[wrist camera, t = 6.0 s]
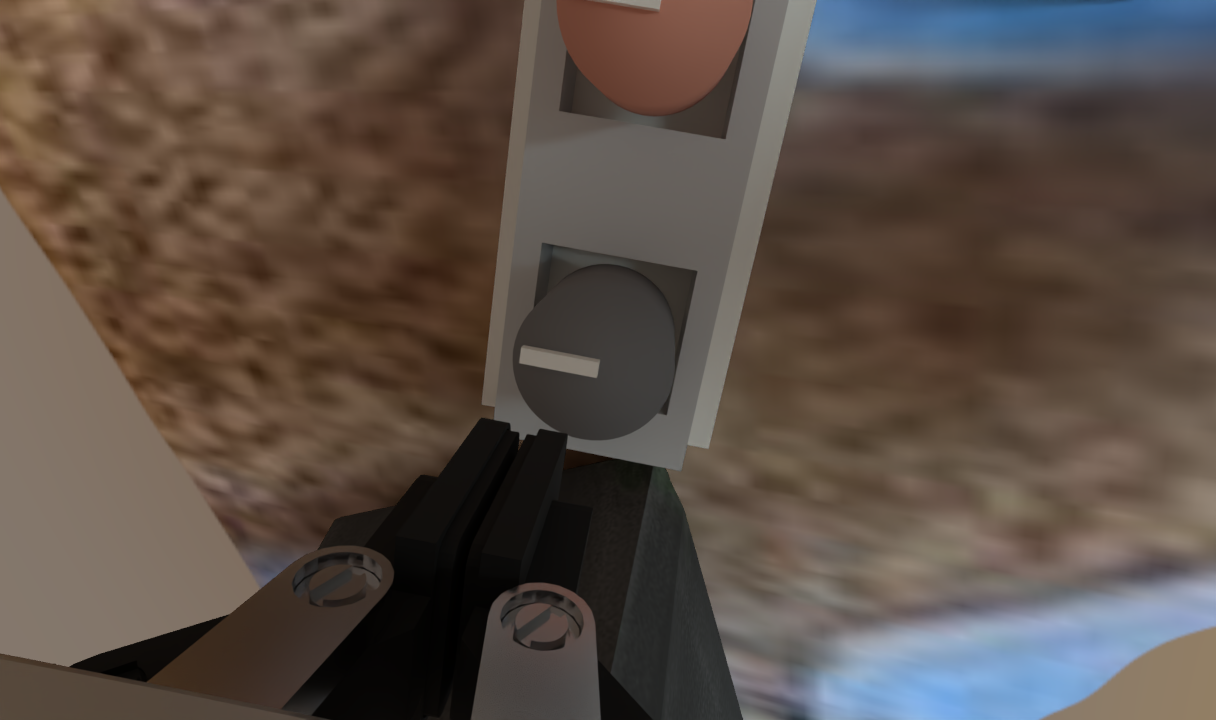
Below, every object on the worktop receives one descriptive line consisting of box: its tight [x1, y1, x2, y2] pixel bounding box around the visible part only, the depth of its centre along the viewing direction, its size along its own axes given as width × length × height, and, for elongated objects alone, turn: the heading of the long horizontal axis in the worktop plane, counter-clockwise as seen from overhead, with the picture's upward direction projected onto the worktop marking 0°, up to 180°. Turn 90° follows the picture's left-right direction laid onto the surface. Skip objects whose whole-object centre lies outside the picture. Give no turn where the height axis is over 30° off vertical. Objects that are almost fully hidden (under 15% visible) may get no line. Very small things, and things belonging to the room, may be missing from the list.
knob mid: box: [556, 0, 753, 116], centre depth 17 cm, size 5×5×4 cm
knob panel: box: [481, 0, 817, 471], centre depth 22 cm, size 10×30×6 cm, turn 171°
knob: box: [512, 264, 675, 441], centre depth 21 cm, size 5×5×4 cm
